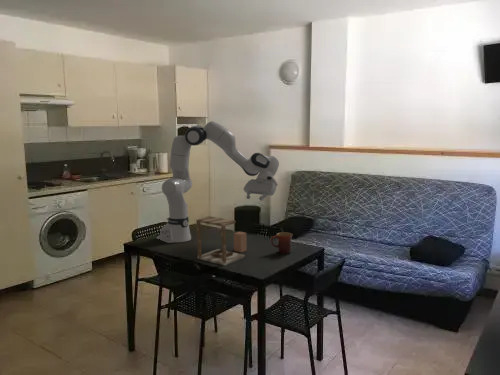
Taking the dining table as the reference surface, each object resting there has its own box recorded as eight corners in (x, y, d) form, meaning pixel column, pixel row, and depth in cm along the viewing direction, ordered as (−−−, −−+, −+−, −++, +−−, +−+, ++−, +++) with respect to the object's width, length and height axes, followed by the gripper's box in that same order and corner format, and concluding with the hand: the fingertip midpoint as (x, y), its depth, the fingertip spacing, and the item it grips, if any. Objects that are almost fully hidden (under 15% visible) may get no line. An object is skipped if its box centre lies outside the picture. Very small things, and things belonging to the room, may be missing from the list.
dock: (197, 258, 225) (196, 219, 222) (218, 251, 238) (217, 213, 235) (224, 265, 214) (223, 224, 211) (244, 257, 227) (244, 218, 224)
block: (234, 250, 238) (233, 233, 237) (239, 248, 242) (239, 231, 241) (241, 252, 235) (240, 234, 234) (246, 250, 239) (246, 232, 238)
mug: (289, 249, 239) (289, 231, 238) (294, 254, 231) (294, 235, 229) (269, 251, 237) (268, 233, 236) (272, 255, 229) (272, 237, 227)
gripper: (247, 175, 256) (237, 194, 249) (275, 178, 243) (266, 197, 237) (252, 182, 260) (242, 200, 254) (280, 184, 247) (270, 204, 241)
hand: (254, 199), depth 245 cm, fingers open, 8 cm apart
